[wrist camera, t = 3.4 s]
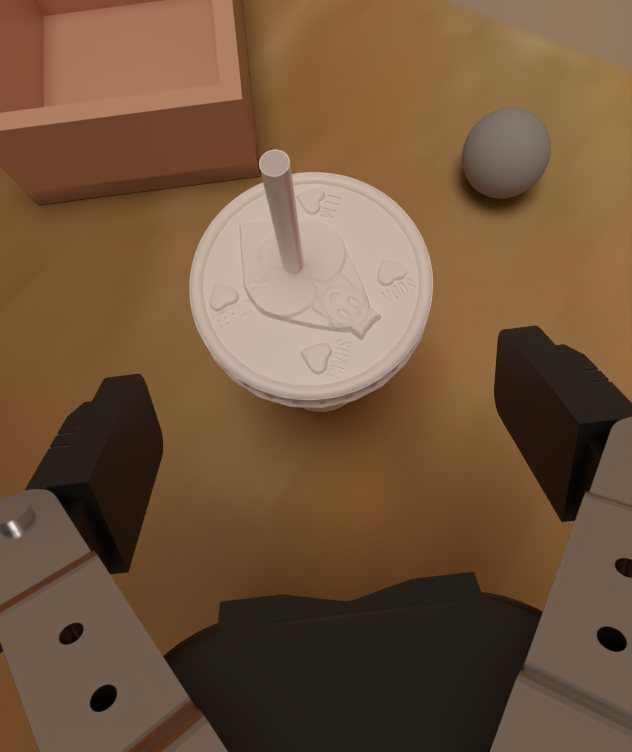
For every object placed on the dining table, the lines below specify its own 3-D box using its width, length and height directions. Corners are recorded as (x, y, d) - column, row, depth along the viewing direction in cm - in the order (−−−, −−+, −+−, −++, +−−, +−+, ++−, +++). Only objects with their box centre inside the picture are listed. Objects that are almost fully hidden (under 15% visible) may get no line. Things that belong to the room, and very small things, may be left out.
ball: (461, 218, 25) (482, 171, 21) (447, 150, 25) (465, 93, 22) (540, 208, 25) (574, 159, 21) (524, 140, 25) (554, 82, 22)
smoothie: (312, 272, 24) (280, -24, 11) (426, 359, 23) (554, 154, 10) (216, 379, 23) (46, 206, 10) (331, 476, 22) (321, 434, 9)
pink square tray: (38, 205, 26) (-32, 134, 21) (38, 22, 28) (-25, -79, 23) (260, 176, 25) (242, 98, 21) (240, -5, 28) (220, -112, 23)
